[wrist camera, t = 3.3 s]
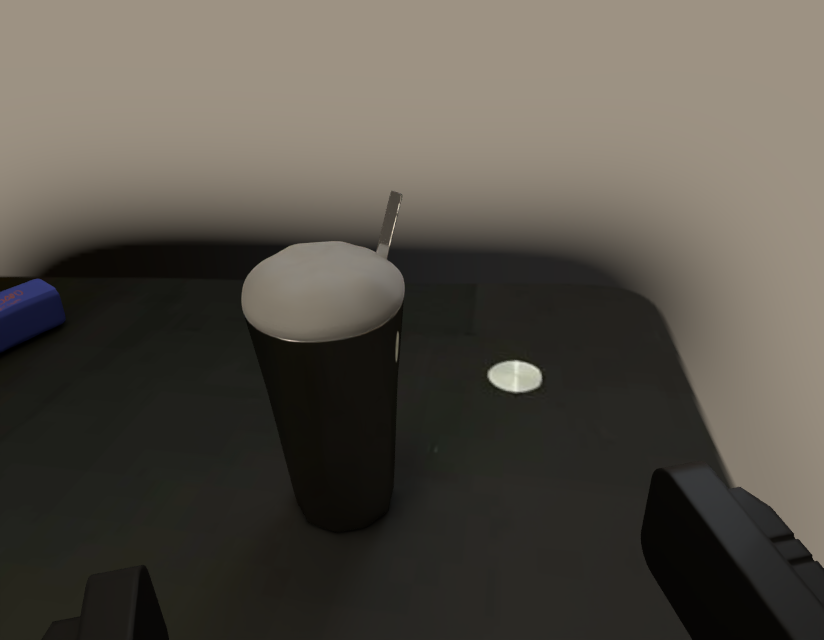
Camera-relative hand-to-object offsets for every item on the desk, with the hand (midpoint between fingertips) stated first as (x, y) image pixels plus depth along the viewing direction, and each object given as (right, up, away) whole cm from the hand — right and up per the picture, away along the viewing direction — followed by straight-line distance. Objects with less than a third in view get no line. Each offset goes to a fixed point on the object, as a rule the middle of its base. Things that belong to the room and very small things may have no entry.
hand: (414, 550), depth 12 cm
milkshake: (-2, -2, +14) cm, 14 cm away
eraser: (-19, +2, +22) cm, 29 cm away
